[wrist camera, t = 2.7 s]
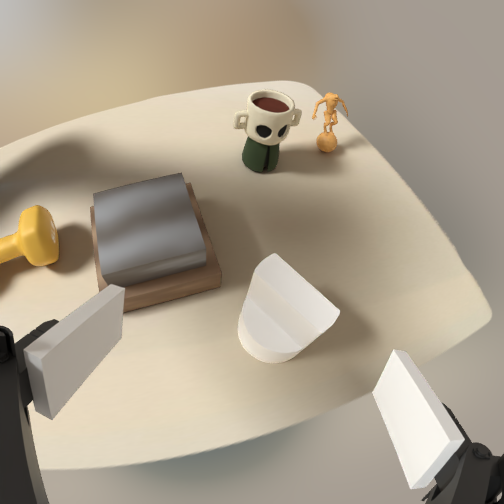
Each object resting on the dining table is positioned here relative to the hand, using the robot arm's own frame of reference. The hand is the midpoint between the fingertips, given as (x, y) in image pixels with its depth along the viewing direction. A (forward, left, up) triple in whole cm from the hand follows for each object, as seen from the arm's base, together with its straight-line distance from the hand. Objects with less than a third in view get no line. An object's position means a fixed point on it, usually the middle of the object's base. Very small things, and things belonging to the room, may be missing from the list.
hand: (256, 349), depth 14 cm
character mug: (-34, +17, -24) cm, 45 cm away
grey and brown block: (-21, -4, -24) cm, 32 cm away
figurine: (-36, +31, -24) cm, 53 cm away
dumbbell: (-25, -27, -24) cm, 44 cm away
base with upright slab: (-6, +8, -24) cm, 26 cm away
